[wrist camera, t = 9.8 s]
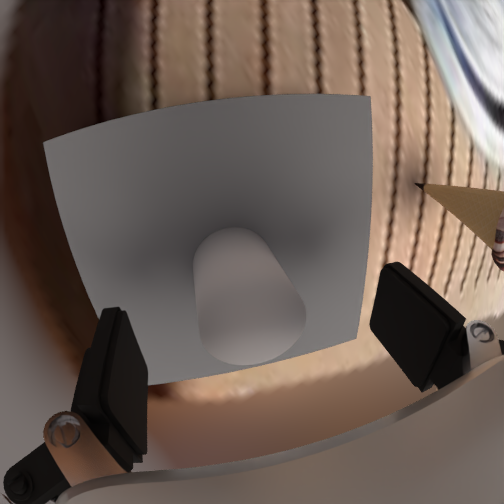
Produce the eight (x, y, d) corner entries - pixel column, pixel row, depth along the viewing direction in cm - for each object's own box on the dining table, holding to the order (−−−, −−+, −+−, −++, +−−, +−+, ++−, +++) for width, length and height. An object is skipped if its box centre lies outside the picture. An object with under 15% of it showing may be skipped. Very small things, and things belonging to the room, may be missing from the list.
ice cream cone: (405, 226, 24) (535, 315, 11) (380, 178, 21) (544, 257, 8) (441, 188, 23) (569, 252, 10) (420, 139, 21) (575, 188, 7)
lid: (51, 140, 11) (-19, 159, 6) (360, 96, 13) (441, 97, 8) (135, 376, 18) (132, 448, 13) (350, 330, 20) (390, 386, 15)
